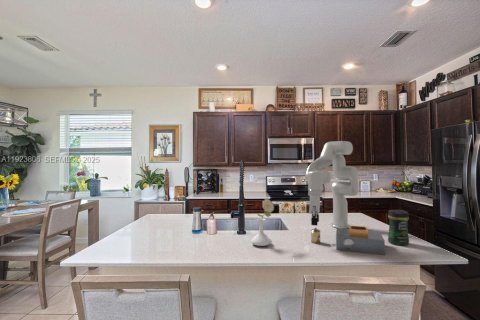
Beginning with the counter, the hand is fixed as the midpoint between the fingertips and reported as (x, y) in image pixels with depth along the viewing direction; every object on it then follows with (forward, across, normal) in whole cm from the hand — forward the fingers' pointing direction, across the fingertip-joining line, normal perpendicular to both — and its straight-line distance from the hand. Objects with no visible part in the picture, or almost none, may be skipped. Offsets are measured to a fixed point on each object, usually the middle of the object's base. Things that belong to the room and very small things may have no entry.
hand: (315, 223), depth 144 cm
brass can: (+11, -1, 0) cm, 11 cm away
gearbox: (+11, -1, +22) cm, 25 cm away
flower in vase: (+11, +13, -27) cm, 32 cm away
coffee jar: (+10, -15, +43) cm, 47 cm away
